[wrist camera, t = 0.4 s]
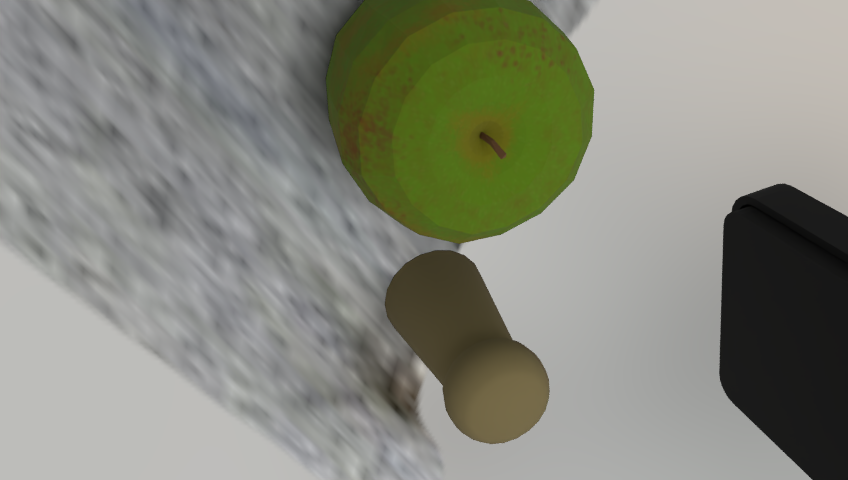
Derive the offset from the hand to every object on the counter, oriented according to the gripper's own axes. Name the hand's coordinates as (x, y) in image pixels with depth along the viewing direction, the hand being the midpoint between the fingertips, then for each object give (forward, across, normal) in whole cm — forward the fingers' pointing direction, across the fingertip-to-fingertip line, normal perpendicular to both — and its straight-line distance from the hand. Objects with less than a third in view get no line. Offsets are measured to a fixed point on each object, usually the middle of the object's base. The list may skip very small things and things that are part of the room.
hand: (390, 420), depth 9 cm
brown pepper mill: (+30, -7, +20) cm, 36 cm away
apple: (+30, -9, +7) cm, 32 cm away
